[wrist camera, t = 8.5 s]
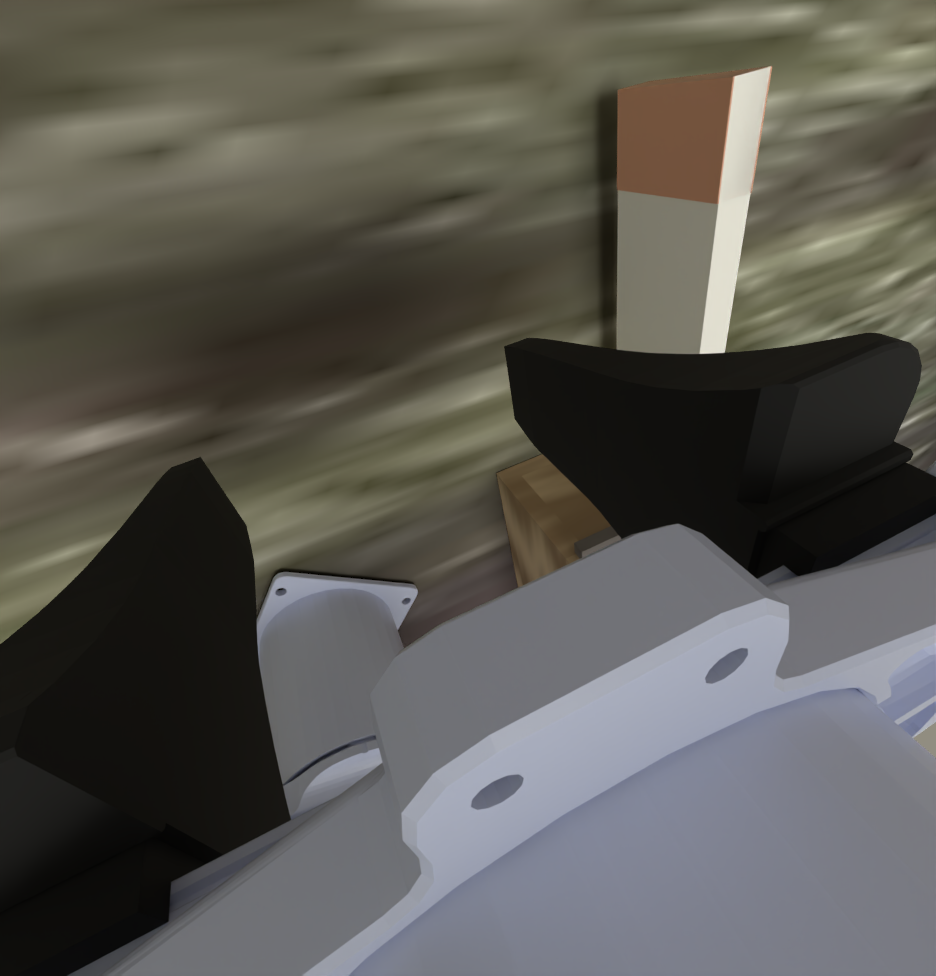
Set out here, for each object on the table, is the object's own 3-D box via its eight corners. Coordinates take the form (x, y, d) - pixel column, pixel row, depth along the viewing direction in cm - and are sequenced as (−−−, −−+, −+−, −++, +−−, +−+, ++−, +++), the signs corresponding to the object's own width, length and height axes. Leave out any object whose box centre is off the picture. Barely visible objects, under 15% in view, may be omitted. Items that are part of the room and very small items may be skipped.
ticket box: (686, 545, 38) (775, 623, 32) (525, 623, 35) (588, 725, 29) (712, 374, 28) (844, 439, 22) (494, 464, 26) (577, 565, 20)
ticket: (633, 491, 29) (694, 544, 25) (614, 499, 29) (673, 555, 25) (649, 81, 17) (772, 65, 13) (617, 89, 17) (733, 76, 13)
